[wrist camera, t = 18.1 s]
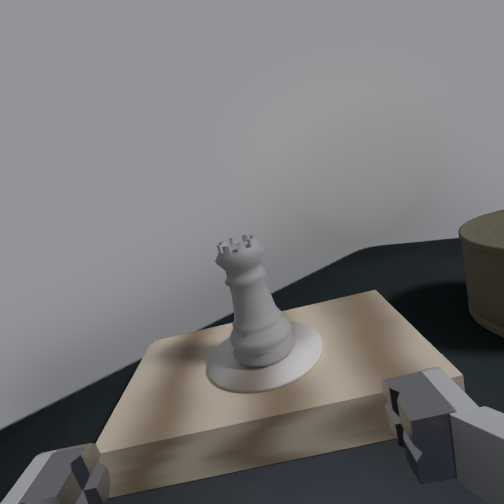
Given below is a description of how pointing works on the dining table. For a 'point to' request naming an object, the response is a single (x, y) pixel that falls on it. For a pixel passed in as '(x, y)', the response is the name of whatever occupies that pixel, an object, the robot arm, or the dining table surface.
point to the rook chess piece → (253, 306)
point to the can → (485, 269)
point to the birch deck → (262, 396)
